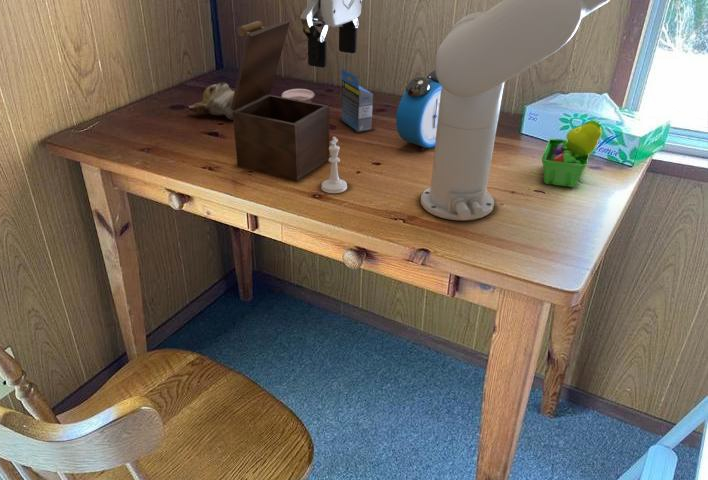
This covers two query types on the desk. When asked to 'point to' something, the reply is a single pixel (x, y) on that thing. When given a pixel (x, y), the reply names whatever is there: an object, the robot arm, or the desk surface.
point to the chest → (282, 136)
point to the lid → (258, 61)
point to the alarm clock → (420, 111)
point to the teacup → (299, 94)
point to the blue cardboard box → (356, 103)
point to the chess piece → (334, 172)
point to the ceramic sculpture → (216, 101)
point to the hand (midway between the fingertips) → (332, 58)
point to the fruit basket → (570, 154)
